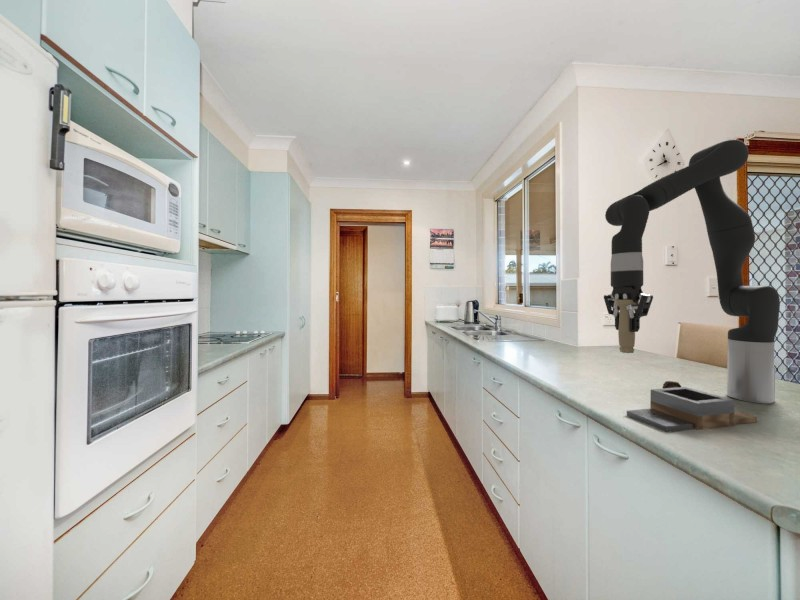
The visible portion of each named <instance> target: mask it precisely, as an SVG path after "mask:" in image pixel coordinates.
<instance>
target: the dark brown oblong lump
mask: <svg viewBox="0 0 800 600" xmlns="http://www.w3.org/2000/svg"><path fill="white" fill-rule="evenodd" d="M676 387H682V385H681V384H680V382H678V381H671V380H667V381H665V382H664V383H663V385H662V388H661V389H663V388H676Z"/></svg>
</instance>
